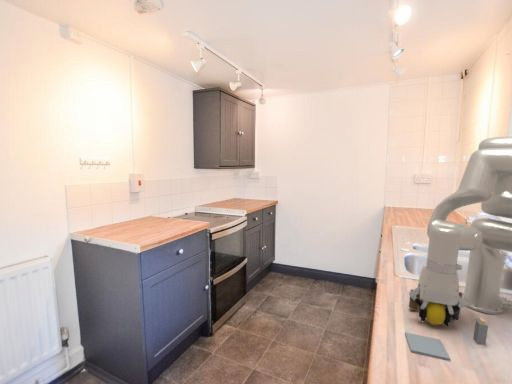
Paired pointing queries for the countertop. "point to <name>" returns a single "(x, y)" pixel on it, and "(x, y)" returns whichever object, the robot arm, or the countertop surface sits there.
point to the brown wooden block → (414, 305)
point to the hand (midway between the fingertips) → (433, 321)
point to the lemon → (435, 313)
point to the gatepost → (457, 313)
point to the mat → (427, 346)
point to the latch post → (480, 332)
